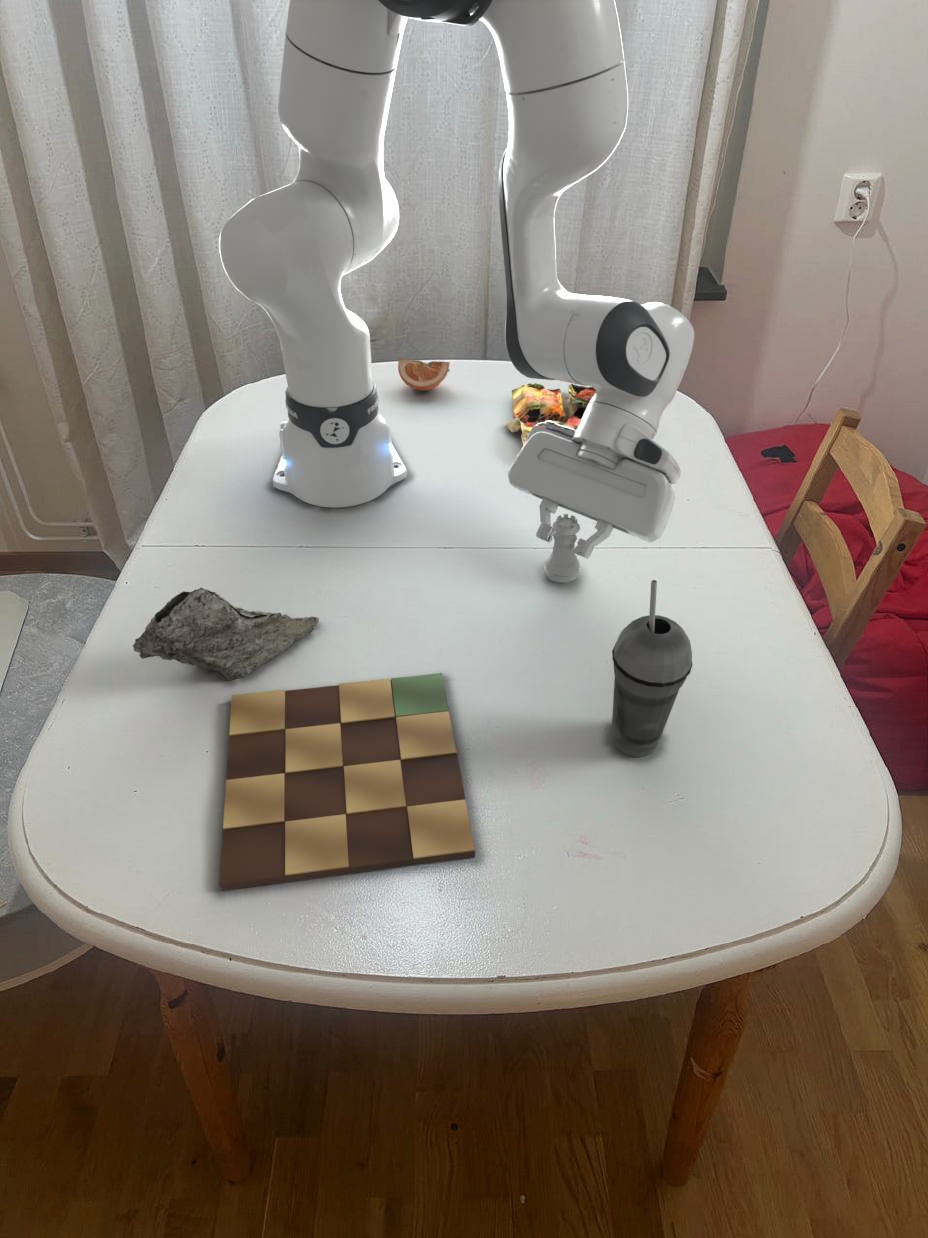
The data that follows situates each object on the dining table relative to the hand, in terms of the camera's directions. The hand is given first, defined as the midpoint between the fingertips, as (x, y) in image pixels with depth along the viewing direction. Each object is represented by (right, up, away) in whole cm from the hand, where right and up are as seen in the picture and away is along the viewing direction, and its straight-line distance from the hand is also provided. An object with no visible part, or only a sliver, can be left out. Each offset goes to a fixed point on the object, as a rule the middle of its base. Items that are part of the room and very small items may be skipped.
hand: (561, 547), depth 102 cm
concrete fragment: (-37, -13, -8) cm, 40 cm away
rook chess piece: (0, -3, +3) cm, 5 cm away
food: (+4, +21, +30) cm, 37 cm away
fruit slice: (-18, +30, +40) cm, 53 cm away
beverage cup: (+5, -21, -16) cm, 27 cm away
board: (-23, -23, -20) cm, 39 cm away
